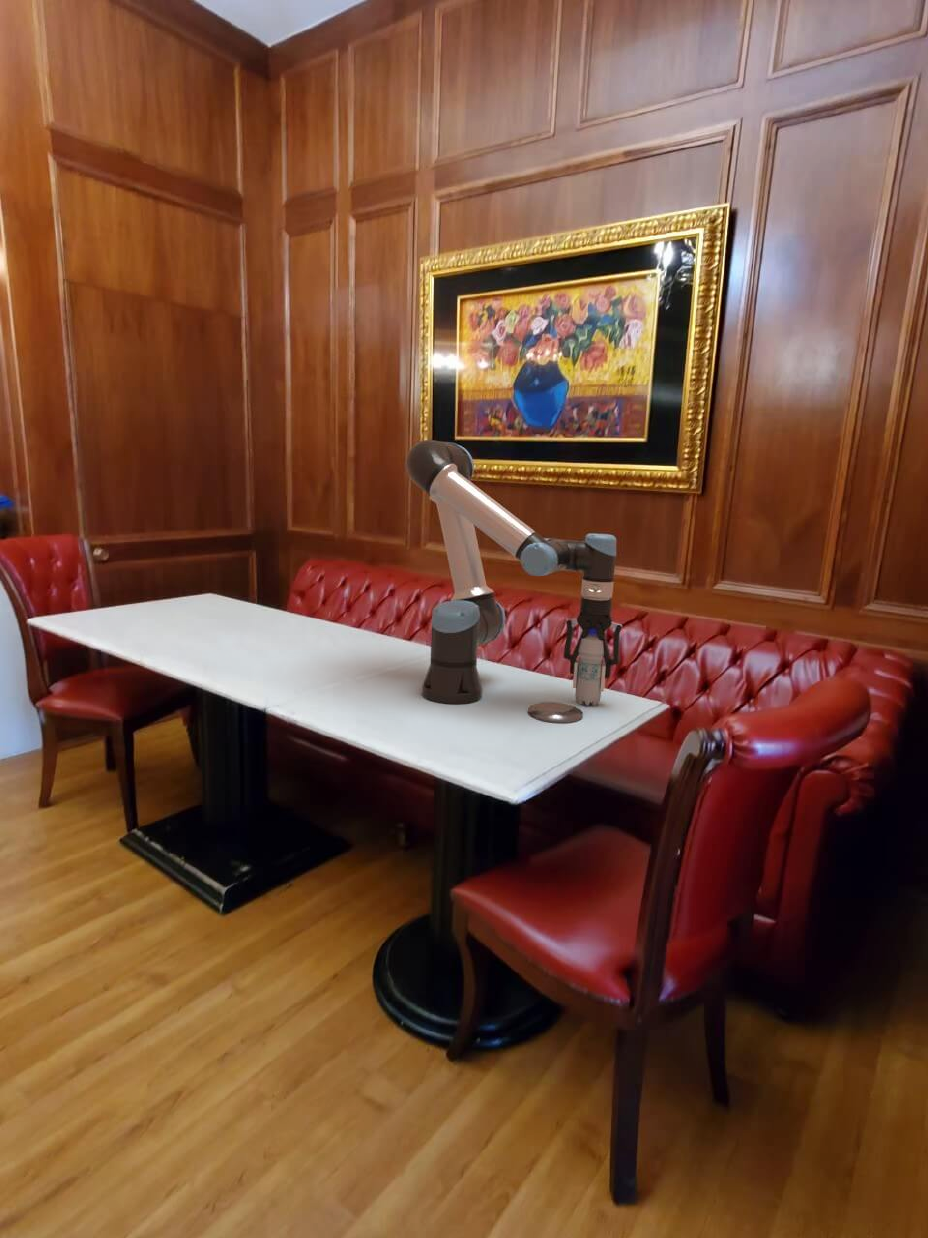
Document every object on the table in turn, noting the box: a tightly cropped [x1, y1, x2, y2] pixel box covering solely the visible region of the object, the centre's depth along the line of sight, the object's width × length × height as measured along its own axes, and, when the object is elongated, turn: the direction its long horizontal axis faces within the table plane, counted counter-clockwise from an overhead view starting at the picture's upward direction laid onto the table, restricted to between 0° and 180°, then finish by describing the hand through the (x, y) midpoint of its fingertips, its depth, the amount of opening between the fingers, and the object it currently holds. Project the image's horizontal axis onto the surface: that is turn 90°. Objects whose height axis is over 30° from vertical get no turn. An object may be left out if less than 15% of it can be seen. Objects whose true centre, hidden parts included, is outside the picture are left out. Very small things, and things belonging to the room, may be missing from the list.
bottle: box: [574, 627, 605, 707], centre depth 174 cm, size 7×7×20 cm
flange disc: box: [527, 701, 584, 724], centre depth 167 cm, size 13×13×1 cm
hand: (588, 688), depth 175 cm, fingers closed on bottle, 6 cm apart
